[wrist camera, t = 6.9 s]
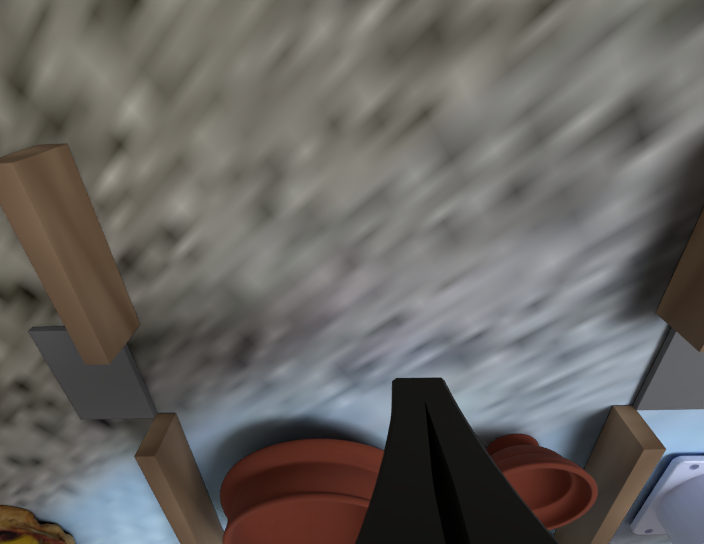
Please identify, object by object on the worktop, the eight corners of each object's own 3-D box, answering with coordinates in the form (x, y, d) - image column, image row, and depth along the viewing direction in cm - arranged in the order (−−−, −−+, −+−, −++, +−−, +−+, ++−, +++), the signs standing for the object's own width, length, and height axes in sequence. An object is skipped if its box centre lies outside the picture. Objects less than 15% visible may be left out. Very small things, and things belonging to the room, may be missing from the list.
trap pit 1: (118, 325, 18) (114, 329, 17) (157, 413, 21) (154, 418, 20) (32, 327, 18) (27, 331, 17) (84, 414, 21) (80, 419, 20)
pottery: (198, 422, 21) (163, 505, 17) (575, 366, 19) (631, 447, 15) (267, 529, 27) (253, 608, 23) (563, 497, 25) (600, 579, 21)
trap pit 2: (772, 310, 17) (779, 314, 16) (711, 404, 20) (716, 409, 20) (679, 312, 17) (684, 316, 17) (632, 405, 20) (636, 410, 20)
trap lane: (775, 118, 13) (881, 137, 10) (562, 547, 28) (583, 599, 25) (39, 144, 13) (-36, 169, 11) (217, 550, 28) (203, 601, 26)
